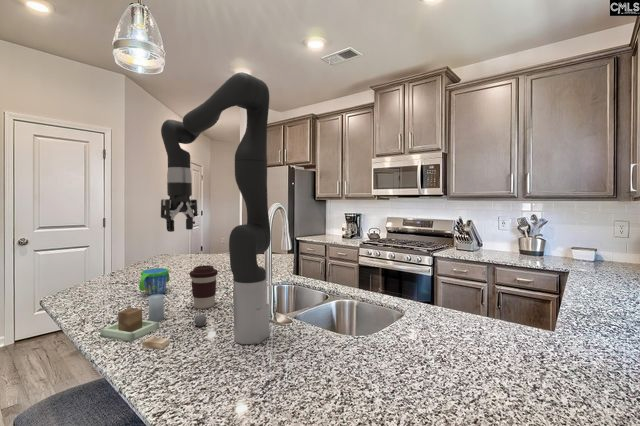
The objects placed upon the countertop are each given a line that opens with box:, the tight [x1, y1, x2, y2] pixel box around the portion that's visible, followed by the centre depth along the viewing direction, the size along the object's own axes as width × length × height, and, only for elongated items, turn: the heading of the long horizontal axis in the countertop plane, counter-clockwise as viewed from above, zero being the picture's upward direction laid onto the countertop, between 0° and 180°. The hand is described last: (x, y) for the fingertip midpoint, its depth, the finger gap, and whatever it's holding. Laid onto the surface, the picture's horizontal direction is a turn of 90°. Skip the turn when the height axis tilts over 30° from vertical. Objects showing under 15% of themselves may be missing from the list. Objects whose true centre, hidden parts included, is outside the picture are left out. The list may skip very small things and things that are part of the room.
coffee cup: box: [189, 264, 218, 310], centre depth 125 cm, size 10×10×15 cm
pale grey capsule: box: [147, 294, 165, 322], centre depth 111 cm, size 5×5×8 cm
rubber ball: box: [194, 314, 207, 327], centre depth 105 cm, size 4×4×4 cm
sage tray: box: [99, 319, 160, 342], centre depth 101 cm, size 12×10×2 cm
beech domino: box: [141, 336, 170, 350], centre depth 91 cm, size 6×3×2 cm, turn 77°
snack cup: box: [138, 267, 171, 297], centre depth 142 cm, size 16×10×10 cm
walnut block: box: [117, 307, 143, 332], centre depth 101 cm, size 4×4×6 cm
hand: (180, 230), depth 110 cm, fingers open, 8 cm apart
